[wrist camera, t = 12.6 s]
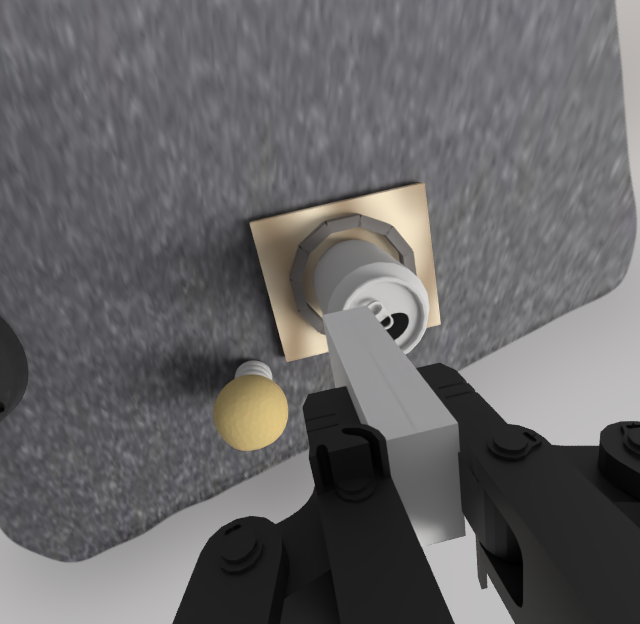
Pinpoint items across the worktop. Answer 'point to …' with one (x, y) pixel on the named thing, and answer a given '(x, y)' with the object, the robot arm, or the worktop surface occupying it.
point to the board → (324, 232)
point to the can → (373, 289)
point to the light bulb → (251, 408)
